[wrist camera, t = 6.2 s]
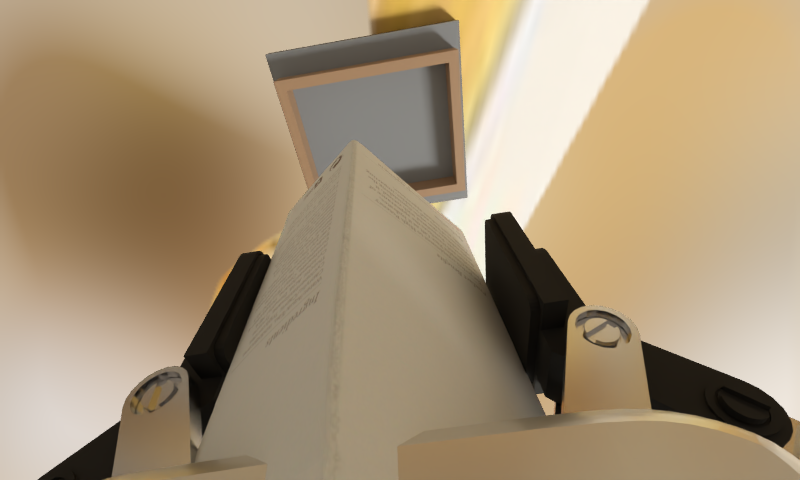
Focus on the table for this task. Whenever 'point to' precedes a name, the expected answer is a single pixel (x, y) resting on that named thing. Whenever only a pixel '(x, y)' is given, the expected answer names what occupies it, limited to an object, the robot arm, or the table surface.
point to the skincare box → (364, 336)
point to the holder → (380, 104)
